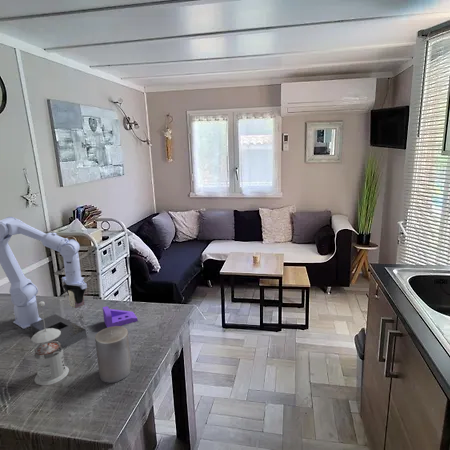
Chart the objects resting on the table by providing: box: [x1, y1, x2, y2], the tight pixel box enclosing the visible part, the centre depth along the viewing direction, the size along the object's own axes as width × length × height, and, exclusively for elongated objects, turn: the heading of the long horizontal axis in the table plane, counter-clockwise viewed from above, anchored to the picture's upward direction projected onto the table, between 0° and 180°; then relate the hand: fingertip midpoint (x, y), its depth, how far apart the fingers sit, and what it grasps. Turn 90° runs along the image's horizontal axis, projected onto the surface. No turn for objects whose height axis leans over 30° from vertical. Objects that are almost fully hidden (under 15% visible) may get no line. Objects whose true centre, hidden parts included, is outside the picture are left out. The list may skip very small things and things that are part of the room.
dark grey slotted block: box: [30, 313, 87, 350], centre depth 129 cm, size 22×10×3 cm, turn 54°
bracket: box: [102, 305, 139, 328], centre depth 137 cm, size 12×7×7 cm, turn 120°
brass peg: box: [67, 289, 86, 309], centre depth 138 cm, size 4×4×7 cm
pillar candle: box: [94, 326, 132, 384], centre depth 104 cm, size 10×10×15 cm
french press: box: [30, 300, 70, 386], centre depth 104 cm, size 10×12×25 cm
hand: (76, 301), depth 138 cm, fingers closed on brass peg, 4 cm apart
